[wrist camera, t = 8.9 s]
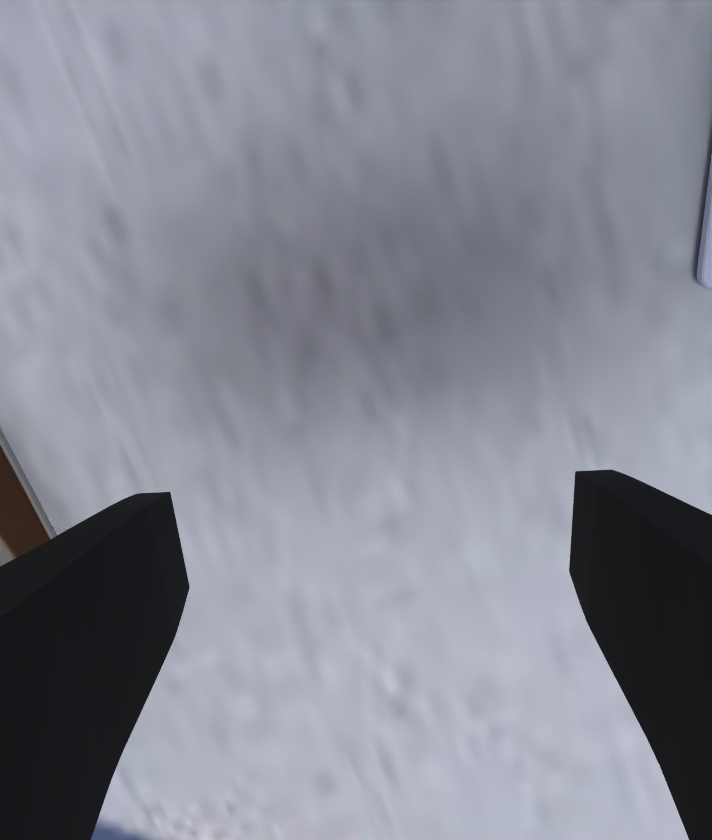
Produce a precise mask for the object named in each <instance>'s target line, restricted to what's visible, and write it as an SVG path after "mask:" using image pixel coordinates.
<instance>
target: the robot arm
mask: <svg viewBox="0 0 712 840" xmlns="http://www.w3.org/2000/svg"><path fill="white" fill-rule="evenodd" d="M697 280H698V281H699V283H700V285H702V286H704V287H705V288H709V289H712V155H711V163H710V171H709V179H708V187H707V195H706V203H705V211H704V219H703V227H702V235H701V243H700V251H699V259H698V267H697ZM569 572H570V575H571V578H572V581H573V584H574V587H575V590H576V593H577V596H578V599H579V602H580V604H581V607H582V610H583V613H584V615H585V618H586V621H587V623H588V625H589V627H590V629H591V631H592V633H593V635H594V637H595V639H596V641H597V643H598V645H599V647H600V649H601V651H602V653H603V654H604V656H605V658H606V660H607V662H608V664H609V666H610V668H611V670H612V672H613V674H614V676H615V678H616V680H617V681H618V683H619V685H620V687H621V689H622V691H623V693H624V695H625V697H626V699H627V701H628V703H629V704H630V706H631V708H632V710H633V712H634V714H635V716H636V718H637V720H638V722H639V724H640V726H641V728H642V729H643V731H644V733H645V735H646V737H647V739H648V741H649V744H650V746H651V748H652V750H653V752H654V754H655V756H656V759H657V761H658V763H659V765H660V767H661V770H662V772H663V775H664V777H665V780H666V782H667V785H668V787H669V790H670V792H671V795H672V797H673V800H674V802H675V805H676V807H677V810H678V812H679V815H680V817H681V820H682V822H683V825H684V827H685V830H686V832H687V835H688V838H689V840H712V515H710V514H708V513H706V512H704V511H702V510H700V509H698V508H695V507H693V506H691V505H689V504H687V503H685V502H683V501H681V500H679V499H677V498H675V497H672V496H670V495H668V494H666V493H664V492H662V491H660V490H658V489H656V488H654V487H652V486H650V485H648V484H645V483H643V482H641V481H639V480H637V479H634V478H632V477H630V476H628V475H625V474H623V473H620V472H617V471H614V470H595V471H576V472H575V487H574V504H573V520H572V536H571V552H570V568H569ZM188 591H189V582H188V578H187V573H186V568H185V563H184V558H183V553H182V548H181V543H180V538H179V533H178V528H177V523H176V518H175V513H174V508H173V504H172V499H171V494H170V492H161V493H141V494H135V495H133V496H130V497H128V498H125V499H123V500H121V501H119V502H117V503H115V504H113V505H111V506H109V507H108V508H106V509H104V510H102V511H100V512H98V513H97V514H95V515H93V516H91V517H90V518H88V519H86V520H84V521H82V522H81V523H79V524H77V525H75V526H74V527H72V528H70V529H68V530H67V531H65V532H63V533H61V534H59V535H58V536H56V537H54V538H52V539H51V540H49V541H47V542H45V543H43V544H42V545H40V546H38V547H36V548H34V549H32V550H30V551H28V552H26V553H25V554H23V555H21V556H19V557H17V558H15V559H13V560H11V561H9V562H7V563H6V564H4V565H2V566H0V840H91V837H92V834H93V831H94V828H95V825H96V822H97V820H98V817H99V814H100V811H101V808H102V805H103V802H104V799H105V796H106V793H107V790H108V787H109V785H110V782H111V779H112V776H113V774H114V772H115V769H116V767H117V764H118V762H119V759H120V757H121V755H122V752H123V750H124V748H125V745H126V743H127V741H128V739H129V737H130V735H131V732H132V730H133V728H134V726H135V724H136V722H137V719H138V717H139V715H140V713H141V711H142V709H143V706H144V704H145V702H146V700H147V698H148V696H149V693H150V691H151V689H152V687H153V685H154V683H155V680H156V678H157V676H158V674H159V672H160V669H161V667H162V665H163V663H164V660H165V658H166V656H167V654H168V652H169V649H170V647H171V645H172V642H173V640H174V638H175V635H176V632H177V629H178V626H179V622H180V619H181V616H182V613H183V609H184V605H185V602H186V598H187V594H188Z"/></svg>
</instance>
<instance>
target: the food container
mask: <svg viewBox="0 0 712 840" xmlns="http://www.w3.org/2000/svg"><path fill="white" fill-rule="evenodd" d="M56 536H57V535H56V533H55V531H54V529H53V527H52V525H51V524H50V522H49V520H48V518H47V516H46V514H45V512H44V510H43V508H42V506H41V505H40V503H39V501H38V499H37V497H36V495H35V493H34V491H33V489H32V488H31V486H30V484H29V482H28V480H27V478H26V476H25V474H24V472H23V470H22V469H21V467H20V465H19V463H18V461H17V459H16V457H15V455H14V453H13V451H12V450H11V448H10V446H9V444H8V442H7V440H6V438H5V436H4V434H3V432H2V431H1V429H0V566H2V565H4V564H6V563H7V562H9V561H11V560H13V559H15V558H17V557H19V556H21V555H23V554H25V553H26V552H28V551H30V550H32V549H34V548H36V547H38V546H40V545H42V544H43V543H45V542H47V541H49V540H51V539H52V538H54V537H56Z"/></svg>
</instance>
